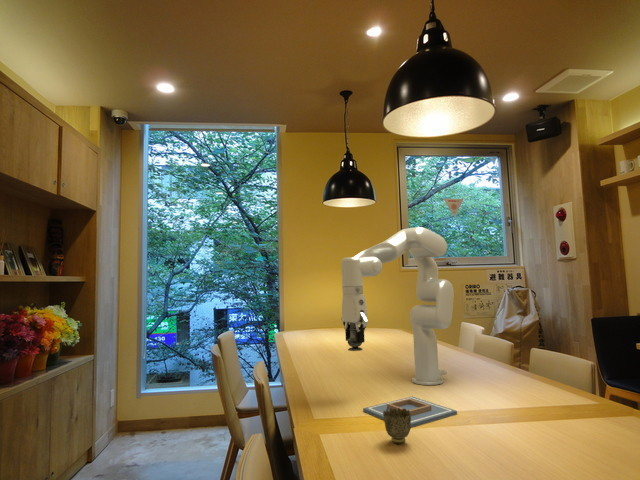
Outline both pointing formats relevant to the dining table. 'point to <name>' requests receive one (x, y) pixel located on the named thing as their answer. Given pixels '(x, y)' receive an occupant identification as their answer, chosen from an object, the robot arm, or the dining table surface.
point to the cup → (397, 424)
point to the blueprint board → (413, 410)
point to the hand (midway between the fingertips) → (355, 341)
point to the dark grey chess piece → (353, 339)
